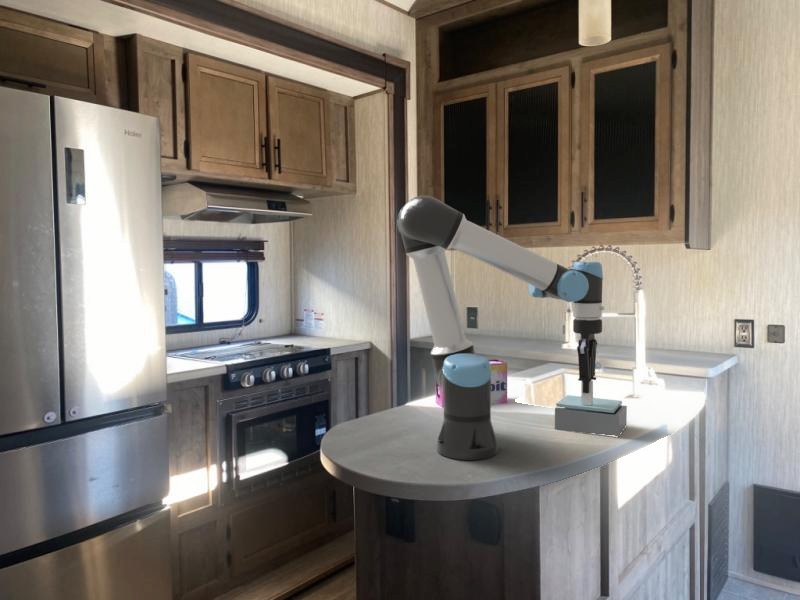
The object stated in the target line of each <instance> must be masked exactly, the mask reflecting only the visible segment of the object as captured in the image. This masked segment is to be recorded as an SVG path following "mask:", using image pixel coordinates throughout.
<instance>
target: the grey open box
mask: <svg viewBox="0 0 800 600" xmlns="http://www.w3.org/2000/svg"><path fill="white" fill-rule="evenodd" d="M627 408H628V405H623V404H621V405H620V406H619V407H618V408H617V410H616V411H615V412H614V413H610V412H603V413H601V411H592V410H583V409H575V408H566V407H557V406H556V407H554V430H556V429H557V431H558V430H559V431H564V430H565V432H571V431H575V432H574V433H579V432H585V433H584V434H586V433H595V434H605V435H615V436H619V435H620V433H621V432H622V431H623V429H624V428H625V426H626V427H627V419H628V418H627V412H628V411H627V410H628V409H627ZM625 429H626V428H625ZM623 432H624V431H623ZM623 432H622V433H623ZM620 436H621V435H620Z"/></svg>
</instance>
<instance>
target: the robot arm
mask: <svg viewBox="0 0 800 600" xmlns="http://www.w3.org/2000/svg"><path fill="white" fill-rule="evenodd" d="M396 221H397V222H396V223H397V230H398V232H399V234H400V236H401V239H402V243H403V246H404V251H405V254H406V256H408V257H410V258H411V259H412V260H413V264H414V267H415V271H416V272H415V273H416V275H417V276H416V277H417V279H418V284H419V287H420V292H421V295H422V296H421V297H422V300H423V305H424V308H425V313H426V317H427V320H428V324H429V329H430V331H431V332H430V333H431V337H432V341H433V344H434V345H433V348H431V351H430V356H431V360H432V364H433V367H434V368H433V370H434V371H433V376H434V379H435V383H436V382H437V384H438V385H439V387H440V388H441V389H442V391H443V393H444V408H443V421H442V424H441V428H440V431H439V434H438V436H437V438H436V439H437V440H436V450H437V453H438V454H440V455H442V456H444V457H447V458H450V459H454V460H464V461H465V460H466V461H468V460H469V461H475V460H476V461H477V460H485V459H488V458H492V457H494V456H495V455H497V454H498V451H499V449H498V448H499V444H498V442H499V441H498V439H497V436H496V432H495V429H494V426H493V423H492V418H491V417H492V416H491V415H492V414H491V412H492V410H491V409H492V407H491V406H492V404H491V369H490V363H489V361H488V360H489V359H487V358H486V357H484V356H482V355H478V354H476V353H475V351H476V350H475V348H474V345H473V344H474V343H473V342H472V341H471V340H469V339H467V338H466V334H465V331H464V327H463V322H462V318H461V315H460V310H459V306H458V301H457V297H456V293H455V290H454V286H453V285H454V284H453V281H452V277H451V273H450V268H449V264H448V260H447V256H446V250H450V249H455V250H456V251H459V252H460V253H463V254H465V255H467V256H469V257H471V258H473V259H475V260H478V261H479V262H482V263H484V264H486V265H487V266H488V265H489V266H490V267H492V268H495V269H496V270H498V271H501V272H503V273H505V274H507V275H510V276H512V277H513V278H516V279H518V280H520V281H522V282H524V283H526V284H528V290H529V294H530V295H531V297H533V298H540V299H545V298H550V299H551V298H552V299H556V300H563V301H565V302H568V303H572V304H573V306H572V307H573V308H572V309H573V310H572V311H573V312H572V316H573V318H574V319H573V320H572V322H573V323H572V325H573V326H572V327H573V329H572V332H573V333H574V334H580V339H578V346H576V349H577V356H578V375H579V378H578V379H577V380H578V382H580V381H581V385H580V386H581V388H580V389H581V391H580V392H581V393H580V394H581V396H580V397H581V404H585V405H592V404H593V398H594V381H596V380H597V377H596V365H597V364H596V362H597V360H596V359H597V348H598V347H597V346H598V341H597V339H596V338H595V335H598V334H601V333H602V332H603V319H601V318H602V317H603V311H604V310H605V306H604V305H603V280H604V277H603V276H604V275H603V266H602V264H601V262H599V261H575V262H574V263H573V265H572V268H567V267H565V266H563V265H560V264H559V263H556V262H555V261H552V260H550V259H548V258H547V257H544V256H543V255H540V254H538V253H536V252H534V251H532V250H530V249H528V248H525V247H524V246H522V245H519V244H517V243H515V242H513V241H511V240H509V239H507V238H505V237H503V236H501V235H498V234H496V233H494V232H492V231H490V230H488V229H486V228H484V227H482V226H480V225H478V224H476V223H474V222H472V221H469V220H467V218H466V216H465V214H464V213H462V212H461V211H459V210H457V209H455V208H453V207H451V206H450V205H448V204H446V203H445V202H443V201H441V200H440V199H438V198H435V197H433V196H430V195H417V196H415V197H413V198H410V200H408V201H407V202H406V203H405V204H404V205H403V206H402V207H401V209H400V210H399V213H398V215H397V220H396ZM602 305H603V306H602Z"/></svg>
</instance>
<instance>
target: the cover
mask: <svg viewBox="0 0 800 600" xmlns="http://www.w3.org/2000/svg"><path fill="white" fill-rule="evenodd" d="M555 405H556V407H558V408H565V407H566V408H575V409H583V410H592V411H601V412H610V413H614V412H615V411H616V410H617V408H618V407H619V406H620V405H623V401H622V400H619V399H618V400H616V399H607V398H596V397H593V404H592V405H585V404H581V396H579V395H569V394H567V395H566V396H564V397H563V398H561V400H559V401H558V402H556V404H555Z"/></svg>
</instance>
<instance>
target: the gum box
mask: <svg viewBox="0 0 800 600" xmlns="http://www.w3.org/2000/svg"><path fill="white" fill-rule="evenodd" d="M487 360H488V361H489V363H490V369H491V405H501V404H502V405H505V404H508V363H507V362H506V361H504V360H501V359H499V358H498V359H487ZM435 404H437V405H439V407H441V408H442V407H444V393H443V391H442V389H441V388H440V387H439V385H438V384H437V382H436V381H435Z"/></svg>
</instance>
